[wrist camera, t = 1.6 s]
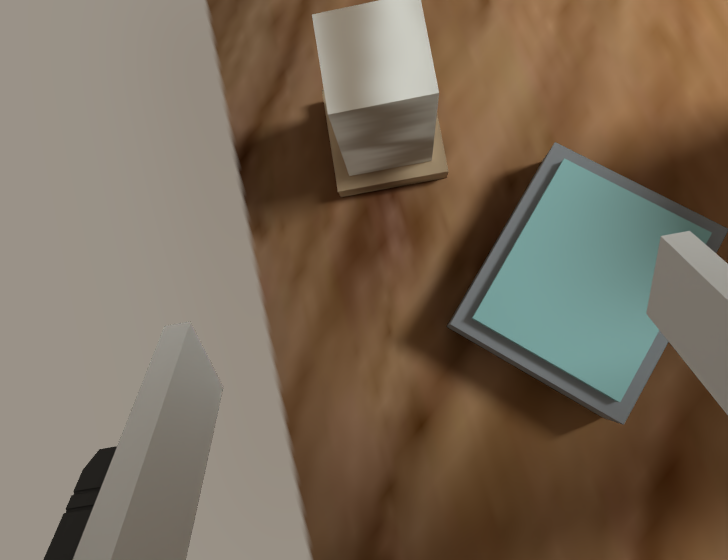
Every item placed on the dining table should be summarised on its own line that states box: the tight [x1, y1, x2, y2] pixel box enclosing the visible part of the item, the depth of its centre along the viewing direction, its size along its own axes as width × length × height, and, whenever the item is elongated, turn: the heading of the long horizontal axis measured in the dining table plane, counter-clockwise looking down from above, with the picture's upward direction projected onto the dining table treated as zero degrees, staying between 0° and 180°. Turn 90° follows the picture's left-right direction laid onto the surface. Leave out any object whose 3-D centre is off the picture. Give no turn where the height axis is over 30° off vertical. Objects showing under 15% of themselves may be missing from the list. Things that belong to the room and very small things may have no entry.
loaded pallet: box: [312, 0, 448, 197], centre depth 33 cm, size 8×8×11 cm
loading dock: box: [447, 142, 728, 425], centre depth 34 cm, size 14×12×4 cm
